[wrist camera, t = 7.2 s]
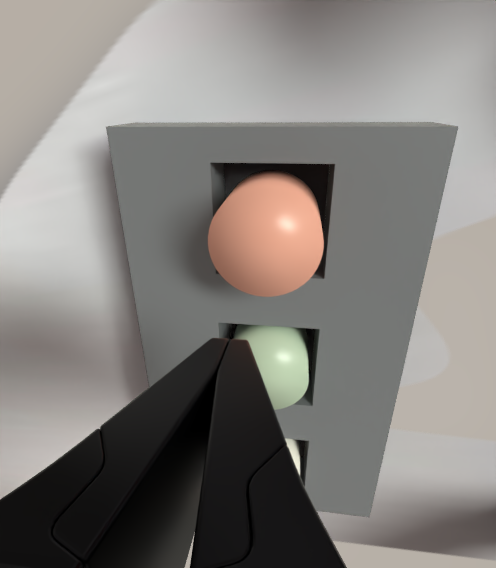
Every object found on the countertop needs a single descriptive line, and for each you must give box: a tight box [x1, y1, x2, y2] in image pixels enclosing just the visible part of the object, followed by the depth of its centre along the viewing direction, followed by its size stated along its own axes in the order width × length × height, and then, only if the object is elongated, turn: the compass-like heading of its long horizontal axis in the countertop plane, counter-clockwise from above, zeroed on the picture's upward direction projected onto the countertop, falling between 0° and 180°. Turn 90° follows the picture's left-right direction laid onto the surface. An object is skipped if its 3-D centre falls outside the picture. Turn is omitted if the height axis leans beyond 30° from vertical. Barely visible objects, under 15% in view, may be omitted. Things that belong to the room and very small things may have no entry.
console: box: [106, 122, 458, 517], centre depth 21 cm, size 14×24×3 cm, turn 0°
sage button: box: [233, 324, 309, 410], centre depth 21 cm, size 4×4×4 cm
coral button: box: [208, 170, 324, 297], centre depth 16 cm, size 4×4×4 cm
